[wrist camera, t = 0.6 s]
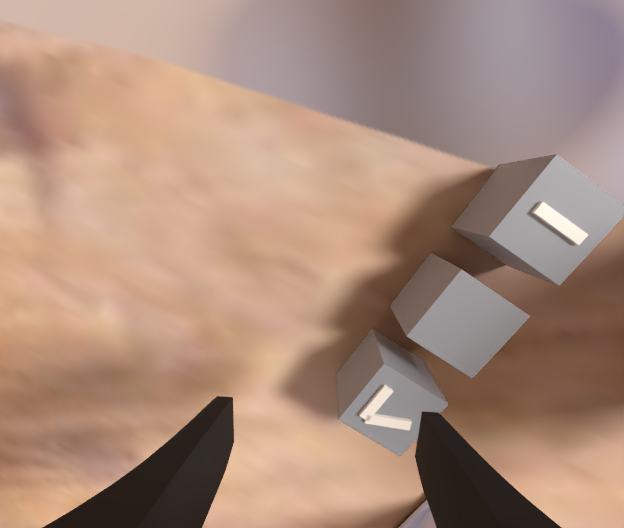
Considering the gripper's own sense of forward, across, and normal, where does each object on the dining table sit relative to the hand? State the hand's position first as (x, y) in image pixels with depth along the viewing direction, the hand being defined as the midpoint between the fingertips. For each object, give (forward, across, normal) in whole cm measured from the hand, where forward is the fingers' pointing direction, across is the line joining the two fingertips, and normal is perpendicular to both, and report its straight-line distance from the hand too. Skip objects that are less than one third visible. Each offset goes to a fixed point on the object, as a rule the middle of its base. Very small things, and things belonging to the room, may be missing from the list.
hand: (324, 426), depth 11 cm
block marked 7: (+10, -4, +4) cm, 11 cm away
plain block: (+10, -7, -2) cm, 12 cm away
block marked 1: (+10, -11, -8) cm, 16 cm away
